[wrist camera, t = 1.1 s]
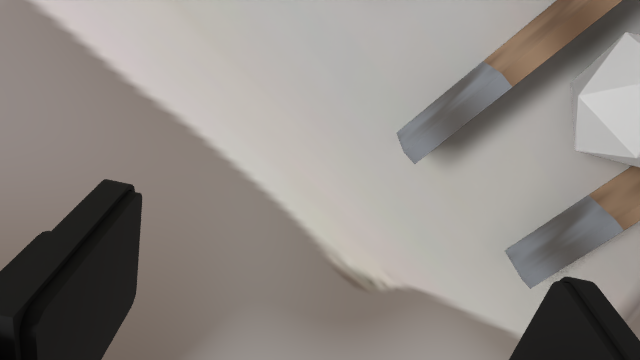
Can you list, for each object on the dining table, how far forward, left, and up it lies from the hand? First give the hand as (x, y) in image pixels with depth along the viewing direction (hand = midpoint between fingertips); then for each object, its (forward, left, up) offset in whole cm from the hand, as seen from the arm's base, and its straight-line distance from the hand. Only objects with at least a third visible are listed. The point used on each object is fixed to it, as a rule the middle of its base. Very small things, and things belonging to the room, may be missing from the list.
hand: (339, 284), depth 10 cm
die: (-13, +15, -26) cm, 33 cm away
